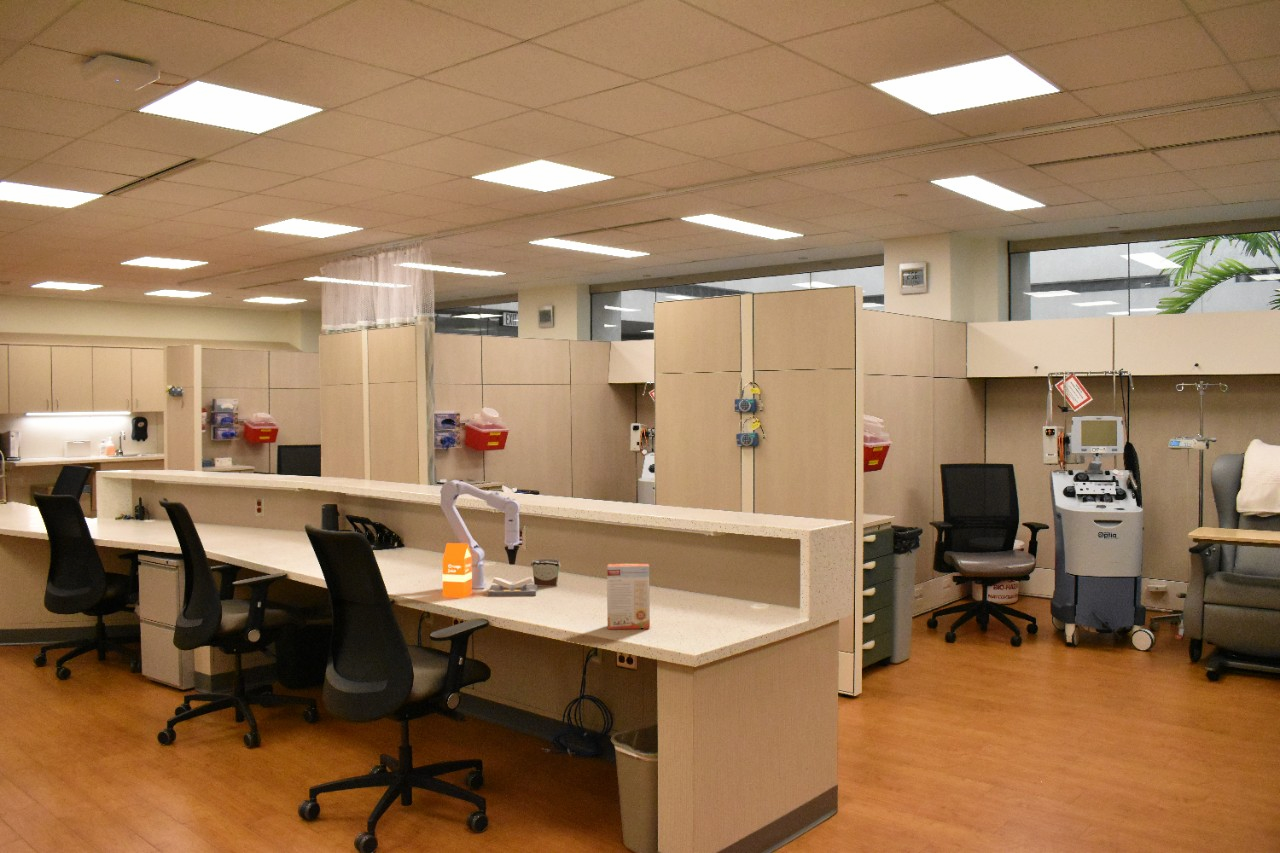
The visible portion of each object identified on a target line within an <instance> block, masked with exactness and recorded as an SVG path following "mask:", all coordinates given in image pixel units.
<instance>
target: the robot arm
mask: <svg viewBox="0 0 1280 853" xmlns="http://www.w3.org/2000/svg"><path fill="white" fill-rule="evenodd" d="M439 493H440V509H441V510H442V512H443V514H444V516H445V518H446V519H447V522H448V524H449V525H450V527H451V529H452V531H453V532H454V535H455V536H456V538H457V540H458V541H459V543H461V544H468V546H469V550H470V553H471V556H472V590H475V589H476V590H477V589H479V590H481V589H482V590H483V589H485V587H486V585H487V584H486V583H485V563H484V561H483V560H484V559H485V556H486V553H485V550H484V548H482V547H481V546H480V545H479V543H478V542H477V541H476V540H475V539H474V538H473V537H472V534H471V532H470V531H469V529H468V527H467V525H466V524H465V522H464V520H463V518H462V516H461V515H460V513H459V511H458V509H457V507H456V505H455V504H456V503H457V499H458V497H459V496H462V495H469V496H471V497H475V498H478V499H480V500H483V501H485V503H486V504H487V506H488V507H491V508H494V509H496V510H498V511H500V512H503V513H504V542H503V543H504V544H505V545H506V546H504V550H505V552H506V555H507V561H508V564H509V565H511V566H512V565H515V564H516V561H517V553H518V550H519V549H520V545H519V544H523V540H520V510H521V504H520V502H519V501H518V500H516V499H515V498H512V499H511V497H510V496H508V497H506V496H504V495H502V494H500V492H498V491H495V492H494V491H493V492H490V493H489V492H487V491H485V490H482V489H481V488H478V487H476V486H475V485H472V484H470V483H468V482H465V481H461V480H459V479H452V480H450V481H449V480H448V481H446V482H444V483H443V484H442V487H441V488H440V492H439Z"/></svg>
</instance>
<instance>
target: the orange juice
mask: <svg viewBox="0 0 1280 853" xmlns="http://www.w3.org/2000/svg"><path fill="white" fill-rule="evenodd" d="M472 590H473V589H472V556H471V553H470V550H469V546H468V544H461V543H460V542H459V543H452V542H446V545H445V549H444V552H443V558H442V597H443V598H464V599H465V598H466V597H468V596H470V595H472V593H473V591H472Z"/></svg>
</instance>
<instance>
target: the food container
mask: <svg viewBox="0 0 1280 853" xmlns="http://www.w3.org/2000/svg"><path fill="white" fill-rule="evenodd" d="M530 566H531V567H532V574H533V575H532V577H533V583H534V584H533V585H537V587H538V586H539V587H540V586H541V587H558V578H559V571H560V568H561V563H560V560H558V559H555V558H554V559H553V558H540V559H539V558H538V559H532V560H531V564H530Z"/></svg>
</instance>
